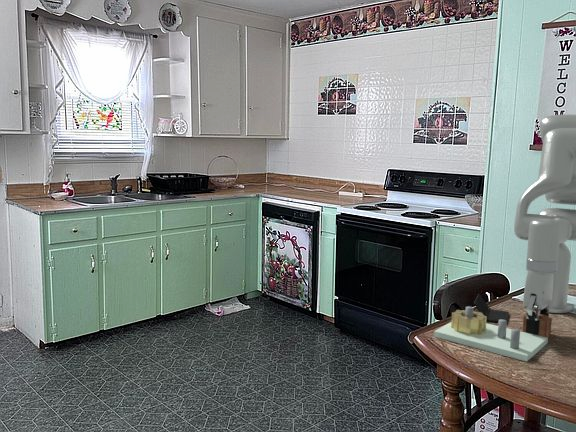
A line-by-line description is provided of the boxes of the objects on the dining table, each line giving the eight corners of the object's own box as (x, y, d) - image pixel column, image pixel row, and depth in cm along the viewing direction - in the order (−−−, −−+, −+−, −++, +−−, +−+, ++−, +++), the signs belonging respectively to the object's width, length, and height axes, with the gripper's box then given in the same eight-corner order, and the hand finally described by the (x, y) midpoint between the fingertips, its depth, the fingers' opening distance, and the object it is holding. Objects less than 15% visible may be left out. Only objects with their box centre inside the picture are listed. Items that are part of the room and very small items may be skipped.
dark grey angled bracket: (514, 320, 154) (492, 290, 156) (492, 333, 156) (471, 304, 157) (510, 313, 165) (490, 286, 167) (489, 326, 167) (470, 298, 168)
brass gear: (459, 321, 152) (460, 307, 152) (490, 328, 147) (491, 314, 146) (446, 329, 146) (447, 314, 145) (477, 337, 140) (478, 322, 140)
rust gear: (527, 328, 151) (528, 311, 150) (553, 334, 147) (554, 316, 146) (519, 335, 146) (520, 317, 145) (545, 341, 142) (546, 323, 141)
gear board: (459, 321, 156) (461, 296, 155) (547, 343, 141) (549, 315, 140) (433, 336, 145) (435, 309, 144) (526, 361, 129) (529, 331, 128)
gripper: (537, 258, 152) (532, 318, 155) (515, 269, 139) (510, 335, 142) (566, 262, 147) (560, 324, 150) (546, 274, 135) (541, 342, 137)
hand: (536, 329), depth 146 cm, fingers closed on rust gear, 6 cm apart
